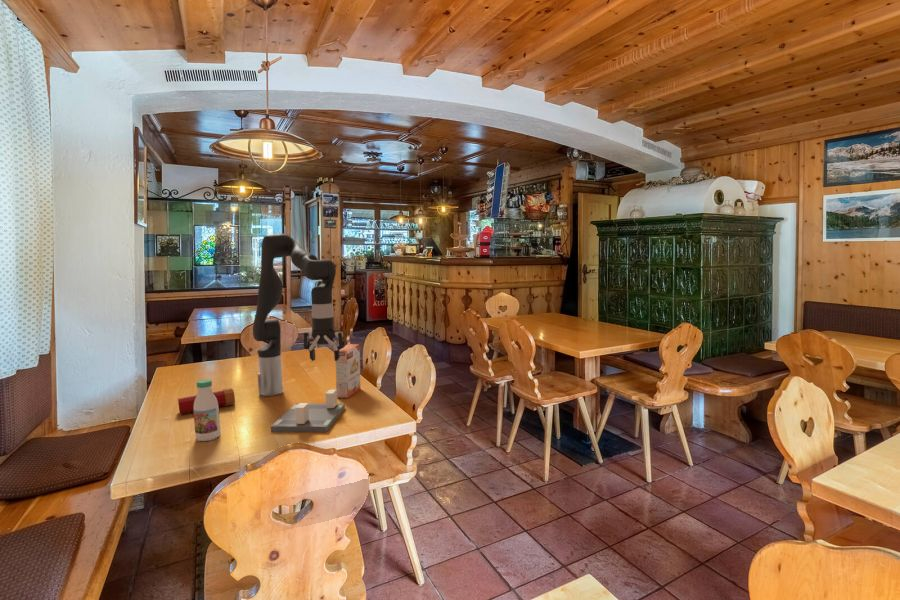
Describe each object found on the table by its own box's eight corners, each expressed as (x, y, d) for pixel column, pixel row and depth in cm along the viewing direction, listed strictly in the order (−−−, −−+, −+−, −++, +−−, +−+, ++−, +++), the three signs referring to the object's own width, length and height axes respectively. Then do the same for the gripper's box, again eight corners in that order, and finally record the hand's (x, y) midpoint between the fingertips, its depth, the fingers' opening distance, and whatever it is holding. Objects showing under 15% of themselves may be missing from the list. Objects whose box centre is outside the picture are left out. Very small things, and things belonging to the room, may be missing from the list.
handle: (326, 408, 185) (325, 393, 184) (330, 403, 190) (329, 389, 189) (333, 408, 185) (333, 393, 184) (337, 403, 190) (336, 389, 189)
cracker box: (349, 398, 203) (347, 350, 200) (336, 398, 204) (334, 350, 202) (361, 388, 217) (360, 343, 214) (349, 388, 218) (347, 343, 215)
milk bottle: (201, 433, 168) (197, 378, 165) (224, 432, 169) (220, 377, 166) (191, 442, 160) (187, 384, 158) (215, 441, 161) (211, 384, 158)
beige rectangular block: (295, 423, 169) (295, 407, 168) (300, 418, 174) (300, 403, 173) (304, 423, 169) (303, 407, 168) (308, 418, 174) (308, 403, 173)
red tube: (235, 406, 196) (234, 390, 195) (180, 416, 185) (179, 399, 184) (232, 402, 201) (231, 386, 200) (178, 411, 190) (177, 394, 189)
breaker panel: (271, 431, 168) (270, 426, 168) (295, 408, 192) (295, 403, 192) (326, 432, 167) (326, 426, 167) (344, 408, 191) (344, 403, 191)
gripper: (299, 317, 166) (301, 362, 168) (338, 317, 165) (341, 362, 167) (307, 314, 174) (309, 358, 176) (345, 314, 173) (347, 357, 174)
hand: (325, 360), depth 171 cm, fingers open, 8 cm apart
